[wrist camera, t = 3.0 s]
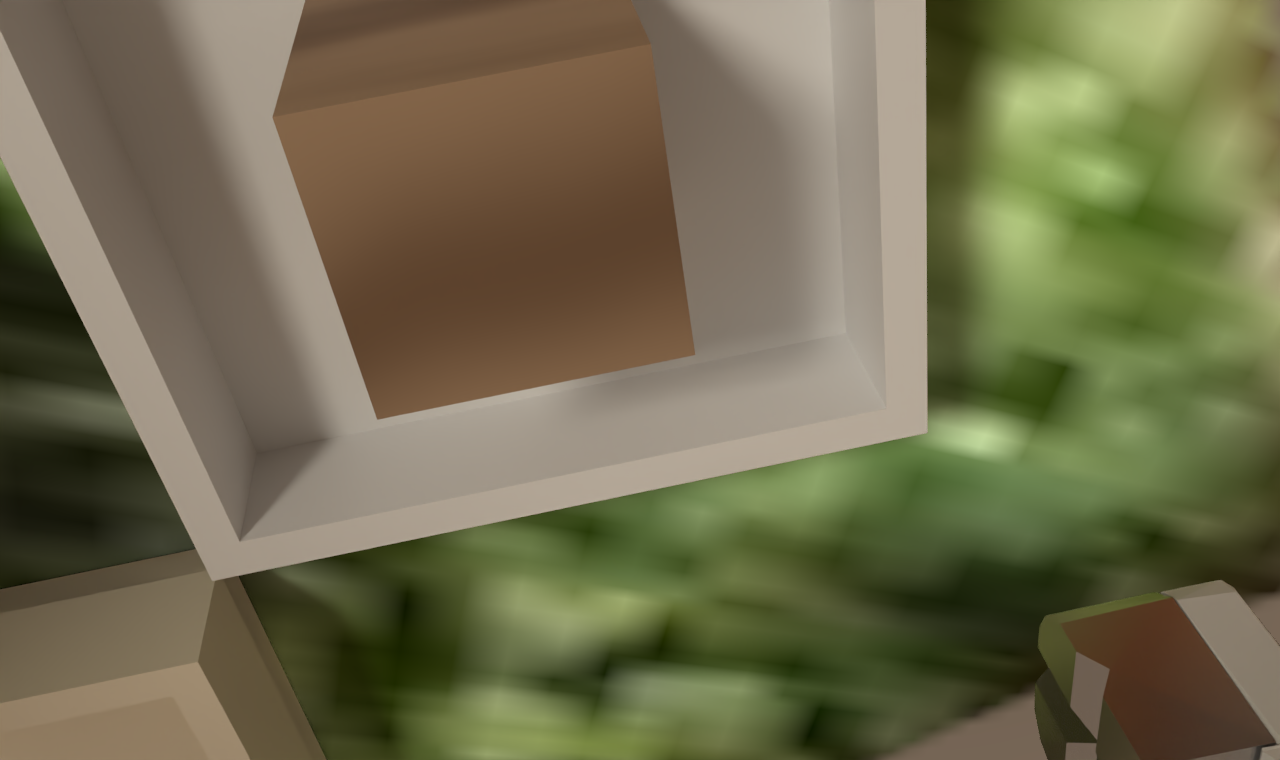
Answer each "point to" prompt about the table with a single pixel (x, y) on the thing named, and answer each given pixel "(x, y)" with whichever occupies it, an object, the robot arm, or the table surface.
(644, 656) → the table surface
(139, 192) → the grey bin
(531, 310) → the walnut block
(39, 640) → the cream bin
